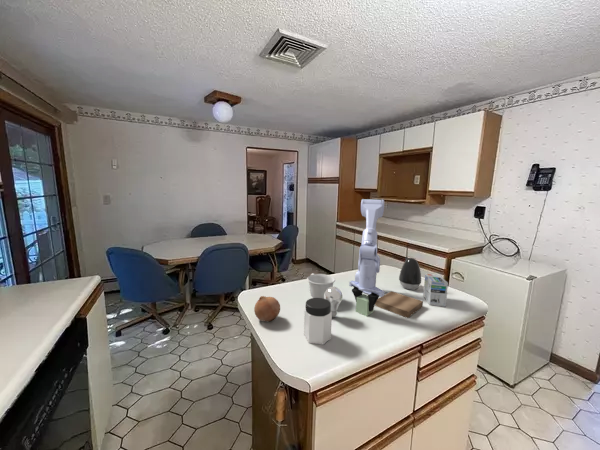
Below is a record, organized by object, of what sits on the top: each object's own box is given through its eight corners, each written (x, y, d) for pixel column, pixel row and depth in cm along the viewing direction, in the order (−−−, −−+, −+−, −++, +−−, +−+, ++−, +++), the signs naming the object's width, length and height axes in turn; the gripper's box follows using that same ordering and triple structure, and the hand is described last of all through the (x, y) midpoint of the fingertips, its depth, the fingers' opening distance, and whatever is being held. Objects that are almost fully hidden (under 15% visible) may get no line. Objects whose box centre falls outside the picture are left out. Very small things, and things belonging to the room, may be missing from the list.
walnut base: (375, 305, 110) (375, 300, 109) (391, 296, 119) (391, 291, 119) (408, 318, 100) (408, 312, 99) (422, 306, 109) (423, 301, 109)
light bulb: (342, 314, 102) (344, 285, 100) (339, 323, 95) (341, 292, 93) (325, 311, 104) (326, 282, 102) (321, 319, 97) (322, 289, 95)
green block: (355, 311, 104) (356, 297, 103) (362, 307, 108) (363, 293, 107) (366, 316, 101) (367, 301, 100) (373, 312, 104) (374, 297, 103)
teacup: (322, 290, 124) (322, 270, 123) (339, 303, 111) (340, 281, 109) (299, 294, 119) (299, 273, 117) (314, 309, 106) (315, 285, 104)
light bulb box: (446, 307, 110) (448, 282, 108) (428, 305, 111) (431, 281, 109) (438, 296, 120) (440, 274, 118) (422, 295, 121) (424, 272, 120)
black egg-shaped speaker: (412, 283, 136) (415, 255, 134) (424, 291, 126) (427, 260, 124) (394, 283, 135) (396, 255, 132) (405, 292, 125) (407, 261, 122)
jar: (315, 327, 92) (316, 295, 90) (334, 336, 87) (336, 302, 85) (298, 338, 85) (299, 303, 84) (319, 348, 80) (320, 311, 78)
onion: (257, 326, 97) (246, 302, 97) (277, 313, 102) (267, 290, 102) (267, 329, 89) (255, 302, 89) (288, 315, 94) (277, 289, 94)
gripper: (345, 272, 104) (343, 304, 106) (378, 283, 94) (376, 318, 96) (355, 269, 109) (353, 299, 111) (388, 278, 99) (385, 312, 101)
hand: (364, 308), depth 104 cm, fingers closed on green block, 5 cm apart
